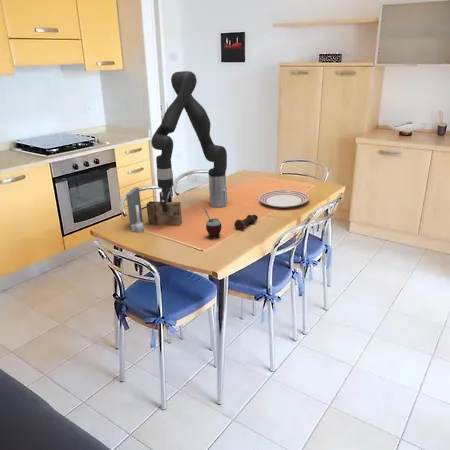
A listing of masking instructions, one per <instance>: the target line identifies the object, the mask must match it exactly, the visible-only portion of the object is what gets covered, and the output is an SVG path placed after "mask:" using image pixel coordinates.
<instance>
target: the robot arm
mask: <svg viewBox="0 0 450 450" xmlns="http://www.w3.org/2000/svg"><path fill="white" fill-rule="evenodd" d="M197 80H198V79H197V77H196V75H195V73H194V72H193V71H189V70H185V71H183V70H182V71H181V70H180V71H175V72H174V73H172V75H171V77H170V82H171V87H172V89H173V91H174V92H175V94H176V95H177V96H176V97H175V99H174V100H173V101H172V103H171V104H170V105H169V106H168V107H167V109H166V110H165V112H164V114H163V117H162V120H161V123H160V125H159V126H158V127H157V129H156V130H155V132H154V133H153V135H152V137H151V141H150V142H151V143H150V144H151V147H152V148H153V149H154V150H157V151H161V153H160V155H158V156H156V158H155V159H156V162H155V163H156V178H157V179H156V180H157V182H156V183H157V187H158V188H159V189H161V190H160V191H159V193H158V194H159V202H160V204H162V209H163V212H167V202H173V200H172V199H173V197H174V193H173V187H174V176H173V175H174V174H173V173H174V172H173V168H172V156H173V149H174V141H173V139H172V137H171V136H169V134H173V133H174V132H175V131H176V129H177V125H178V124H179V123H178V122H179V120H180V117H181V115H182V113H183V110H185V112H186V114H187V117H188V119H189V121H190V124H191V126H192V128H193V130H194V133H195V134H196V136H197V138H198V141H199V143H200V145H201V146H200V147H201V150H202V153H203V155H204V157H205V160H207V161H208V162H211V163H213V167H212V168H209V170H208V187H209V206H210V207H212V208H223V207H227V205H228V188H227V179H226V178H227V177H226V176H227V175H226V172H227V167H228V166H227V165H228V153H227V149H226V148H225V147H224V146H222V145H218V144H215V143H214V141H213V139H212V136H211V134H210V133H211V125H212V124H211V119H210V117H209V115H208V113H207V111H206V109H205V108H204V107H203V106H202V104H201V103H199V101H198V100H196V99H195V97H194V96H193V92H194V91H195V89H196V86H197V82H198V81H197Z"/></svg>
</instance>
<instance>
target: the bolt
mask: <svg viewBox="0 0 450 450" xmlns="http://www.w3.org/2000/svg"><path fill="white" fill-rule="evenodd" d="M258 219H259V217H258V215H256V214H248V215H246V218H244V219H237V220H236V221H234V223H233V225H234V229H235V230H236V231H240V232H243V231H244V230H245V228H246V226H249V225H254V224H255V223H256V221H257V220H258Z"/></svg>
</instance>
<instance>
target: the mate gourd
mask: <svg viewBox="0 0 450 450" xmlns="http://www.w3.org/2000/svg"><path fill="white" fill-rule="evenodd" d="M199 208H200V209H202V210H203V211H204V212H205V214H206V217H207V218H208V220H207V222H206V225H205V229H206V232H207V234H208V236H209V237H208V239H209V240H211V239H213V238H215V239H220V235H221V234H220V233H221V231H222V222H221V220H220V219H218V218H210V216H209V212H208V211H207V210H206V209H205V208H204V207H202V206H199Z"/></svg>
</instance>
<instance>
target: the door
mask: <svg viewBox="0 0 450 450" xmlns="http://www.w3.org/2000/svg"><path fill="white" fill-rule="evenodd" d="M146 211H147V221H148V222H147V223H148V226H181V225H182V224H183V220H182V219H183V218H182V206H181V201H172V202H167V212H163V209H162V204H160V201H147V203H146Z"/></svg>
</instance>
